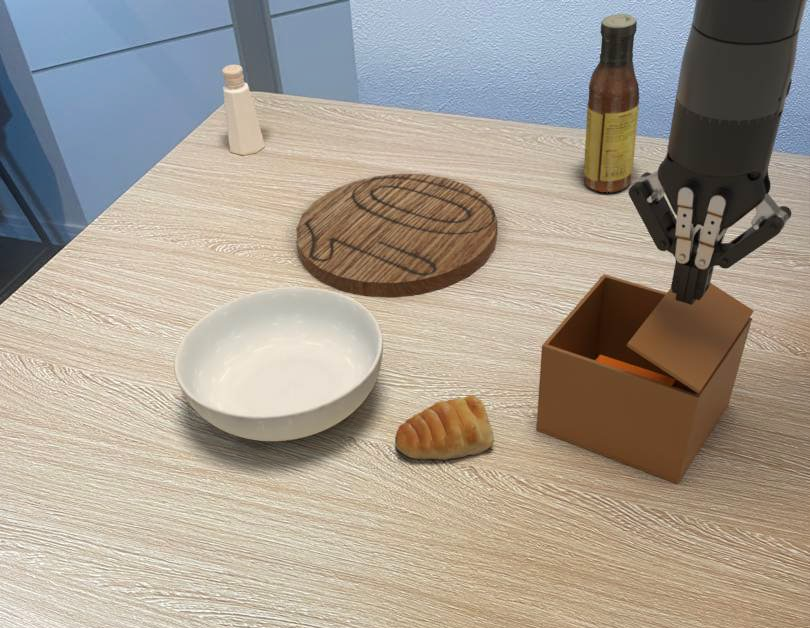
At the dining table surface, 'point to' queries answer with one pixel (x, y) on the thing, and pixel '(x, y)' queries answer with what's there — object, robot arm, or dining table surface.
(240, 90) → the pepper shaker
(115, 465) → the dining table surface
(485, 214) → the trivet
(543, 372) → the carton
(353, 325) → the serving bowl
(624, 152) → the sauce bottle
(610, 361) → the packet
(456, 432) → the pastry
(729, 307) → the flap
